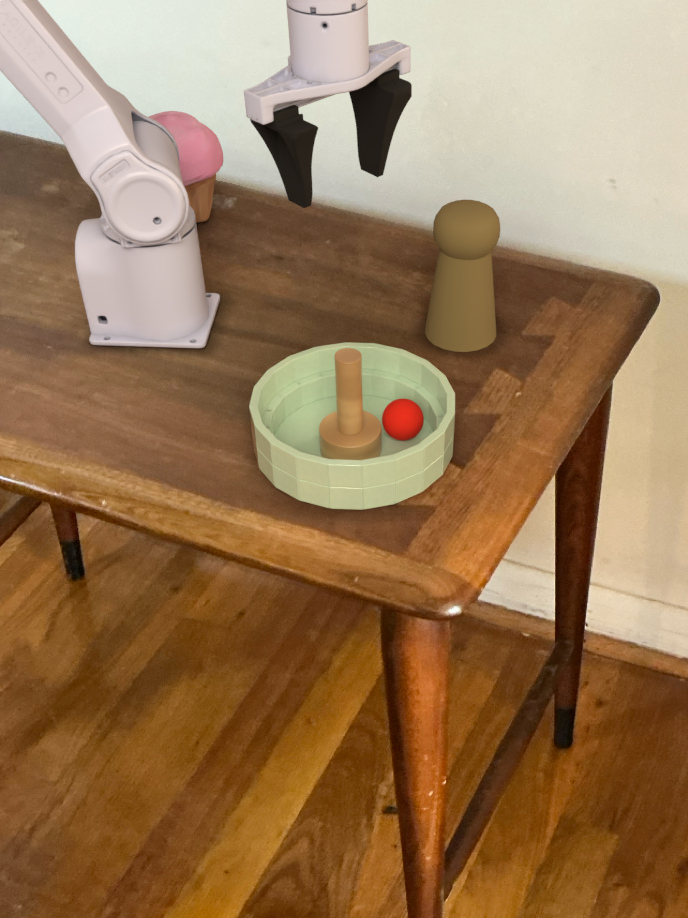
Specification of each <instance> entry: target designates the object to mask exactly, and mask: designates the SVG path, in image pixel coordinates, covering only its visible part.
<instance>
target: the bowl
mask: <svg viewBox="0 0 688 918" xmlns="http://www.w3.org/2000/svg"><path fill="white" fill-rule="evenodd" d="M344 348H353V349H356V350H358V351H359V352H360V353H361V355H362V398H363V411H366V412H369V413H371V414H373V415H374V416H375V417H377V419H378V420H379V421H380V423H381V427H382V451H381V454H380V456H379V457H376V458H370V459H364V460H343V459H327V458H323V457H322V455H321V452H320V438H319V426H320V423H321V421H322V420H323V419H324V418H325V417H326V416H327V415H329V414H331V413H333V412H335V411H337V405H336V381H335V357H334V356H335V353H336V352H337V351H338V350H340V349H344ZM397 399H409V400H412V401H414V402H415V403H416V404H417V405H418V406H419V407H420V408H421V410H422V413H423V417H424V423H423V427H422V429H421V431H420V432H419V433H418V435H416V436H415V437H414V438H412V439H409V440H404V441H401V440H396V439H394V438H392V437H391V436H389V435H388V434H387V433H386V431H385V430H384V427H383V424H382V415H383V412H384V410H385V408H386V407H387V405H388V404H389V403H391V402H392V401H394V400H397ZM248 409H249V411H248V412H249V420H250V426H251V427H250V428H251V437H252V446H253V451H254V456H255V459H256V462H257V466H258V469H259V470H260V471H261V472H262V474H263V475H264V476H265V477H266V478H267V479H268V481H269V482H270V483H271V484H272V485H273V486H274V487H275V488H276V489H277V490H279V491H281V492H283V493H285V494H286V495H288V496H290V497H291V498H294V499H295V500H297V501H300V502H302V503H303V502H304V503H307V504H310V505H314V506H318V507H323V508H326V509H331V510H357V511H358V510H359V511H360V510H361V511H363V510H371V509H376V508H381V507H387V506H392V505H396V504H399V503H401V502H404V501H405V500H408V499H410V498H412V497H415V496H417V495H419V494H421V493H423V492H424V491H426V490H427V489H428V488H429V487H430V486H432V485H433V484H434V483H435V482H437V480H439V479H440V478H441V477H442V476H443V475H444V474H445V471H446V470H447V468H448V466H449V464H450V462H451V460H452V458H453V455H454V440H455V423H456V392H455V391H454V389H453V387H452V385H451V383H450V382H449V379H448V378H447V376H446V374H445V373H443V372H442V371H441V370H440V369H438V368H437V367H436V366H435V365H433V363H431V361H429V360H428V359H426V358H423V357H421V356H418V355H416V354H414V353H412V352H410V351H408V350H405V349H403V348H400V347H394V346H389V345H385V344H380V343H375V342H350V341H349V342H348V341H345V342H338V343H331V344H324V345H318V346H313V347H311V348H308V349H305V350H302V351H299V352H296V353H294V354H291V355H289V356H286V357H285V358H284V359H282V360H281V361H279V362H277V363H276V364H274V365H273V366H271V367H269V368H268V369H267V370H266V371H265V372H264V374H263V375H262V376H261V377H260V379H259V380H258V381H257V382H256V383H255V384H254V386H253V388H252V392H251V397H250V400H249V405H248Z"/></svg>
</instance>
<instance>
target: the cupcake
mask: <svg viewBox="0 0 688 918" xmlns="http://www.w3.org/2000/svg"><path fill="white" fill-rule="evenodd" d="M148 117H149V118H151V119H153V120H156V121H157V122H159V123H160V124H162V125H163V126H164V127H165V128H166V129H168V130H169V132H170V133H171V134H172V136H173V137H174V139H175V141H176V144H177V146H178V150H179V161H180V163H179V166H180V171H181V176H182V181H183V185H184V187H185V189H186V191H187V194H188V199H189V205H190V206H191V207H192V209H193V210H194V212H195V218H196V224H197V223H204V222H206V221H208V219H209V218H210V216H211V211H212V208H213V207H212V206H213V198H214V191H215V183H216V180H217V173H218V172H219V171H220V170H221V168H222V167H223V165H224V151H223V148H222V144H221V142H220V140H219V137H218V135H217V134H216V133H215V132H214V131H213V130H212V129H211V128H210V127H209V126H207V125H206V124H204V123H202V122H201V121H199V120H198V118H196V117H195V116H193V115H191V114H189V113H187V112H183V111H179V110H178V111H177V110H166V111H162V112H157V113H155V114H152V115H149V116H148Z"/></svg>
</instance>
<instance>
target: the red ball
mask: <svg viewBox="0 0 688 918" xmlns="http://www.w3.org/2000/svg"><path fill="white" fill-rule="evenodd" d="M423 423H424V417H423V413H422V410H421V408H420V407H419V406H418V405H417V404H416V403H415V402H414V401H412V400H409V399H397V400H394V401H392V402H391V403H389V404H388V405H387V407H386V408H385V410H384V412H383V415H382V424H383V427H384V430H385V431H386V433H387V434H388V435H389V436H391V437H392V438H394V439H396V440H401V441H404V440H409V439H412V438H414V437H415V436H416V435H418V433H419V432H420V431H421V429H422V427H423Z"/></svg>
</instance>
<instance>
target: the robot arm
mask: <svg viewBox="0 0 688 918" xmlns="http://www.w3.org/2000/svg"><path fill="white" fill-rule="evenodd" d="M368 2H369V0H286V2H285V3H286V14H287V15H286V16H287V17H286V18H287V25H288V26H287V28H288V37H289V38H288V40H289V54H290V55H288V56H287V66H285V67H283V68H281V69H280V70H279V71H277V72H276V73H274V74H273V75H271V76H269V77H268V78H266V79H265V80H263V81H262V82H259V83H258V84H256V85H254V86H252V87H249V88H247V89H244V90H243V96H244V106H245V114H246V115H245V116H246V118H247V119H249V121H250V123H251V124H252V126H253V127H254V128H255V130H256V131H257V133H258V135H259V136H260V138H261V139H262V141H263V142H264V143H265V145H266V148H267V149H268V151H269V153H270V155H271V157H272V159H273V161H274V163H275V166H276V168H277V170H278V173H279V176H280V178H281V182H282V184H283V187H284V190H285V193H286V196H287V199H288V201H289V202H291V203H293V204H295V205H297V206H298V207H300V208H302V209H306V208H308V207H311V206H312V202H313V173H312V171H313V170H312V169H313V168H312V167H313V164H312V163H313V153H314V147H315V142H316V137H317V134H318V130H319V127H318V125H315V124H313V123H311V122H310V121H306V120H304V114H303V113H300V110H299V108H303V107H305V106H307V105H310V104H313V103H316V102H319V101H321V100H324V99H327V98H330V97H332V96H335V95H339V94H345V93H348V94H349V98H350V101H351V105H352V111H353V115H354V121H355V130H356V143H357V145H356V147H357V157H358V162H359V167H360V170H361V171H363V172H365V173H368V174H369V175H372V176H374V177H376V178H379V177H382V176H384V173H385V169H386V164H387V160H388V157H389V152H390V148H391V145H392V140H393V137H394V134H395V131H396V128H397V125H398V123H399V121H400V118H401V116H402V114H403V112H404V110H405V108H406V106H407V105H408V103H409V101H410V100H411V98H412V95H413V93H412V92H413V91H412V90H413V88H412V87H413V86H412V85H413V84H412V82H410V81H408V80H406V79H403V78H401V77H400V76H402V75H406V74H408V73H411V45H407V44H406V43H403V42H400V41H397V40H394V39H392V40H389V41H385V42H380V43H376V44H370V43H369V41H370V39H369V38H370V37H369V3H368ZM0 72H1V74H3V75H4V76H5V77H6V79H7V80H8V81H9V82H10V83H11V84H12V85H13V87H14V88H15V89H16V90H17V91H18V92H19V93H20V94H21V95H22V97H23V98H24V99H25V100H26V101H27V102H28V103H29V105H30V106H31V107H32V108H33V109H34V110H35V111H36V112H37V113H38V115H40V117H41V118H42V119H43V120H44V122H46V123H47V124H48V126H49V127H50V128H51V129H52V130H53V131H54V132H55V134H56V135H57V136H58V137H59V138H60V140H61V141H62V143H63V145H64V147H65V148H66V150H67V152H68V154H69V156H70V159H71V160H72V162H73V164H74V167H75V169H76V170H77V172H78V174H79V176H80V177H81V179H82V180H83V181H84V183H86V185H87V186H88V187H89V188H90V189H91V191H92V192H93V193H94V195H95V196H96V198H97V201H98V203H99V208H100V212H101V215H100V217H98V218H88V219H83V220H82V221H81V222H80V223H79V225H78V227H77V230H76V234H75V240H74V262H75V263H74V264H75V270H76V276H77V280H78V284H79V288H80V293H81V297H82V302H83V306H84V310H85V314H86V318H87V322H88V327H89V331H90V335H89V337H88V342H89V344H90V345H91V346H106V347H107V346H108V347H109V346H111V347H112V346H113V347H139V348H141V347H145V348H172V349H173V348H174V349H175V348H177V349H203V348H205V347H206V345H207V343H208V341H209V336H210V333H211V330H212V327H213V325H214V321H215V318H216V316H217V315H216V314H217V311H218V308H219V305H220V302H221V295H220V294H219V293H217V292H207V291H206V284H205V283H206V282H205V277H204V270H203V269H204V268H203V262H202V255H201V249H200V241H199V240H200V239H199V232H198V227H197V223H196V218H195V212H194V210H193V209H192V207H191V206H190V205H189V199H188V194H187V191H186V189H185V187H184V185H183V181H182V176H181V171H180V166H179V163H180V161H179V150H178V146H177V144H176V141H175V139H174V137H173V136H172V134H171V133H170V132H169V130H168V129H166V128H165V127H164V126H163V125H162V124H160V123H159V122H157V121H156V120H153V119H151V118H149V116H147V115H145V114H143V113H141V111H139V110H138V109H137V108H136V107H135V106H134V105H133V104H132V103H131V102H130V101H129V99H128V98H127V97H126V96H125V95H124V94H123V93H121V92H120V91H118V90H116V89H114V88H113V87H112V86H110V85H109V84H107V82H106V81H105V80H104V79H103V78H102V76H101V75H100V74H99V72H97V71H96V70H95V67H93V66H92V64H91V63H90V62H89V60H87V59H86V57H85V56H84V55H83V54H82V52H81V50H79V49H78V48H77V46H76V45H75V44H74V43H73V41H72V40H71V39H70V37H69V36H68V35H67V34H66V32H64V30H63V29H62V28H61V26H59V24H58V23H57V22H56V21H55V19H54V18H53V17H52V15H50V13H49V12H48V11H47V10H46V8H45V7H44V6H43V5H42V3H41V2H40V1H39V0H0Z"/></svg>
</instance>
